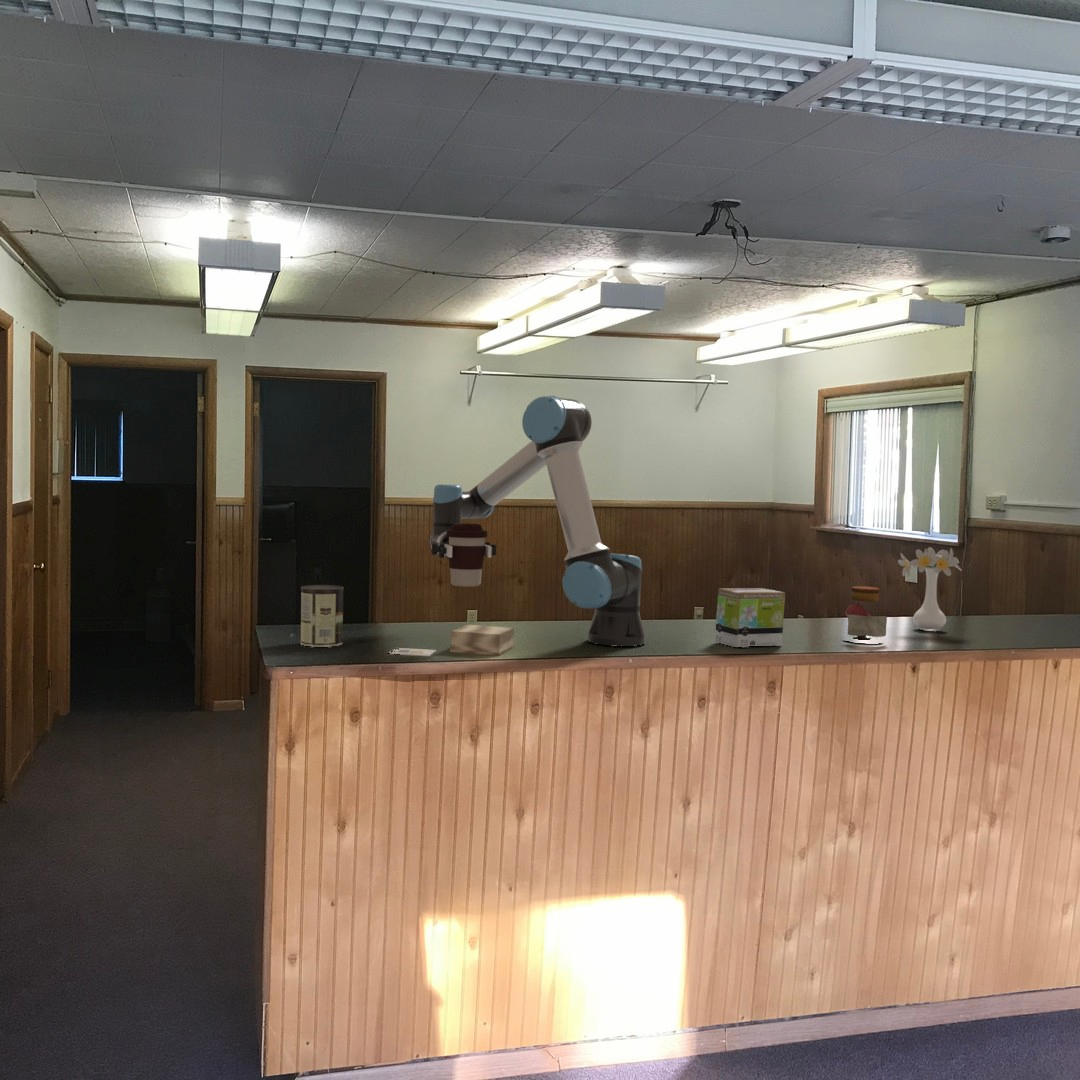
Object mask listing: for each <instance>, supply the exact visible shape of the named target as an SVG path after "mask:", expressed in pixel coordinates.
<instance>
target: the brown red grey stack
mask: <svg viewBox="0 0 1080 1080" xmlns="http://www.w3.org/2000/svg"><path fill="white" fill-rule="evenodd" d="M850 591H851V592H850V593H851V594H850V600H852V601H858V602H870V603H871V602H873V603H874V602H879V601H880V588H878V587H875V586H874V587H873V586H863V585H862V586H860V585H858V586H857V585H855V586H851V590H850ZM844 613H845V616H846V617H847V635H849V636H851V637H853V639H858V640H870V638H881V637H886V636H887V621H888V619H887V618H888V616H887V615H883V616H882V615H880V616H879V615H877V616H876V615H875V616H873V615H871V614H870V613H868V611H867V610H866V609H865V608H864V607H863V606H862V605H861V604H859V603H851V604H850V605H848V607H847V609H846V610H845V612H844ZM867 637H869V638H867Z"/></svg>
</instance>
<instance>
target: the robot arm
mask: <svg viewBox="0 0 1080 1080" xmlns="http://www.w3.org/2000/svg"><path fill="white" fill-rule="evenodd" d="M591 416H592V415H591V413H590V411H589V409H588V407H587V406H586V405H584V404H583V403H582V402H581V401H579V400H575V399H571V398H563V397H557V396H555V395H548V396H547V395H546V396H545V395H544V396H539V397H537V398H534V399H533V400H532V401H530V403H529V404H528V405H527V407H526V409H525V411H524V413H523V415H522V419H521V421H522V422H521V423H522V429H523V432H524V434H525V436H526V437H527V438H528V439H529V440H530V442H528V443H527V444H526V445H524V447H522V448H521V449H520V450H518V452H516V453H515V454H514V455H512V456H511V457H510V458H508V459H507V460H506V461H505V462H503V464H501V465H500V466H498V468H496V469H495V470H494V471H492V472H491V473H490V474H489V475H487V476H486V477H485V478H484V479H483V480H481V481H480V482H479V483H478V484H476V485H475V486H474V487H473V488H472V489H470V490H468V491H463V489H462V485H459V484H440V483H439V484H436V485H435V486H434V489H433V490H434V491H433V497H432V502H433V503H432V505H433V507H432V509H433V511H432V512H433V513H432V517H433V518H432V534H431V535H430V539H429V540H430V541H429V543H430V552H431V555H433V556H435V555H438V558H441V559H443V558H446V559H447V560H449V557H451V558H452V546H450V545H449V537H448V536H446V533H447V530H451V528H452V526H453V524H456V523H462V520H465V519H466V520H470V519H471V520H482V519H485V518H487V517H489V516H491V515H492V514H493V512H494V509H495V506H496V505H497V504H499V503H500V502H502V500H504V499H505V498H506V497H508V496H509V495H510V494H512V493H513V492H514V491H515V490H516V489H518V488H519V487H521V486H522V485H523V484H525V482H527V481H528V480H530V479H531V478H532V477H533V476H535V475H536V474H537V473H539V471H541V470H542V469H544V468H545V467H546V468H547V471H548V476H549V480H550V485H551V488H552V493H553V496H554V501H555V503H556V508H557V511H558V516H559V520H560V523H561V528H562V531H563V536H564V540H565V544H566V547H567V554H566V555H565V558H564V565H565V569H566V570H565V571H564V575H562V576H563V577H562V581H561V582H562V588H563V592H564V594H565V596H566V598H567V599H568V600H569V601H570V603H572V604H573V605H575V606H576V607H579V608H582V609H591V610H592V609H594V614H593V615H592V616H593V617H592V620H591V622H590V624H589V628H588V631H587V634H586V635H587V637H586V641H587V640H588V641H589V642H592V643H597V644H603V645H617V646H621V645H622V646H634V645H640V644H644V643H645V644H646V639H647V638H646V632H645V629H644V624H643V621H642V619H641V618H642V617H641V615H640V613H641V612H640V611H641V596H642V595H641V590H642V573H643V568H642V559H641V558H640V557H639V556H636V555H631V554H623V553H611V550H610V548H609V547H608V546H606V545H604V544H603V542H602V539H601V536H600V532H599V528H598V523H597V520H596V516H595V511H594V508H593V503H592V501H591V496H590V492H589V488H588V485H587V480H586V476H585V472H584V469H583V465H582V461H581V457H580V453H579V452H580V449H581V447H582V445H583V442H584V441H585V440H586V438H587V437H588V436H589V434H590V432H591V429H592V417H591ZM484 545H485V551H484V558H485V557H486V558H489V559H490V558H492V556H496V555H497V544H495V543H494V544H492V543H491V541H486V542H484ZM589 642H588V643H589ZM592 643H591V644H592ZM645 644H644V645H645ZM603 645H602V646H603ZM634 647H635V646H634Z"/></svg>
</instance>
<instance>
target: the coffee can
mask: <svg viewBox="0 0 1080 1080" xmlns="http://www.w3.org/2000/svg"><path fill="white" fill-rule="evenodd" d="M300 591H301V592H300V593H301V595H300V596H301V597H300V600H301V601H300V644H301V645H300V646H302V645H304V646H303V647H305V646H311V647H310V648H314V647H328V648H333V647H332V646H337V647H340V646H339V645H341V646H343V645H344V642H343V637H344V636H343V635H344V634H343V633H344V630H343V629H344V627H343V626H344V625H343V623H344V622H343V621H344V617H343V616H344V591H345V587H344V586H341V585H335V584H312V585H311V584H310V585H309V584H308V585H303V586H300ZM342 644H343V645H342Z"/></svg>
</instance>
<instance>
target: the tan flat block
mask: <svg viewBox="0 0 1080 1080" xmlns="http://www.w3.org/2000/svg"><path fill="white" fill-rule="evenodd" d="M514 629H515V628H514V627H507V626H506V627H505V626H494V625H493V626H492V625H481V624H480V625H477V624H466V625H462V626H460V627H458V628H456V629H453V630H451V633H450V634H451V639H450V643H451V644H450V649H449V653H450V652H451V653H460V654H473V655H485V656H496V657H498V656H502V655H504V654H505V652H506V653H507V652H509V651H511V650H513V649H515V645H514V637H515V635H514V634H515V630H514ZM512 648H513V649H512ZM510 649H511V650H510ZM508 650H509V651H508ZM503 653H504V654H503Z"/></svg>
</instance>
